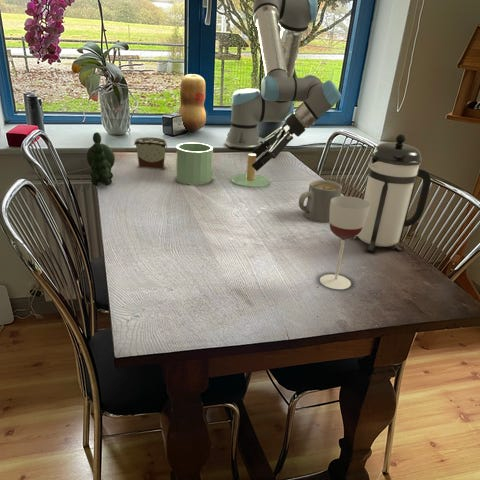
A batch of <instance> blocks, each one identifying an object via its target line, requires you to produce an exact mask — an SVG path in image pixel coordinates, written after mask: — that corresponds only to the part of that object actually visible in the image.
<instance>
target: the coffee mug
mask: <svg viewBox="0 0 480 480" xmlns="http://www.w3.org/2000/svg"><path fill="white" fill-rule="evenodd" d="M342 191H343V185H342V184H341V183H338V182H336V181H332V180H326V179H316V180H312V181H310V182H309V186H308V191H304V192H302V193H301V194H300V196H299V198H298V207H299V209H300V210H301V211H303V212H305V217H306V218H307V219H309V220H311V221H315V222H318V223H319V222H320V223H330V219H329V214H330V203H331V199H332V198H334V197H339V196H342ZM306 199H307V200H306ZM305 200H306V205H305V204H304V203H305Z"/></svg>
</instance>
